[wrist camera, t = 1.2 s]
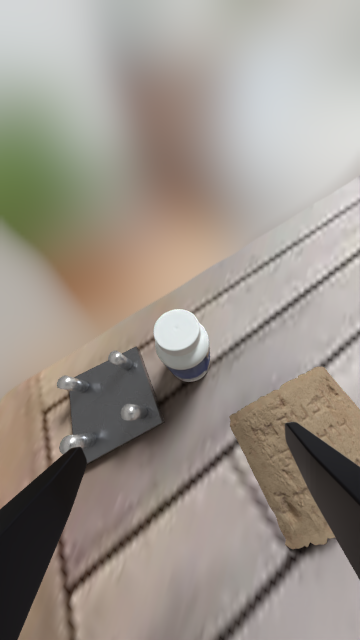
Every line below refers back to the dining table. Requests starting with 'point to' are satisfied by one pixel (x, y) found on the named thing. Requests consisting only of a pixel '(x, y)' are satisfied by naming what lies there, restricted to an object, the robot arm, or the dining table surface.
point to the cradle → (110, 405)
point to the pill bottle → (182, 344)
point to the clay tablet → (275, 456)
